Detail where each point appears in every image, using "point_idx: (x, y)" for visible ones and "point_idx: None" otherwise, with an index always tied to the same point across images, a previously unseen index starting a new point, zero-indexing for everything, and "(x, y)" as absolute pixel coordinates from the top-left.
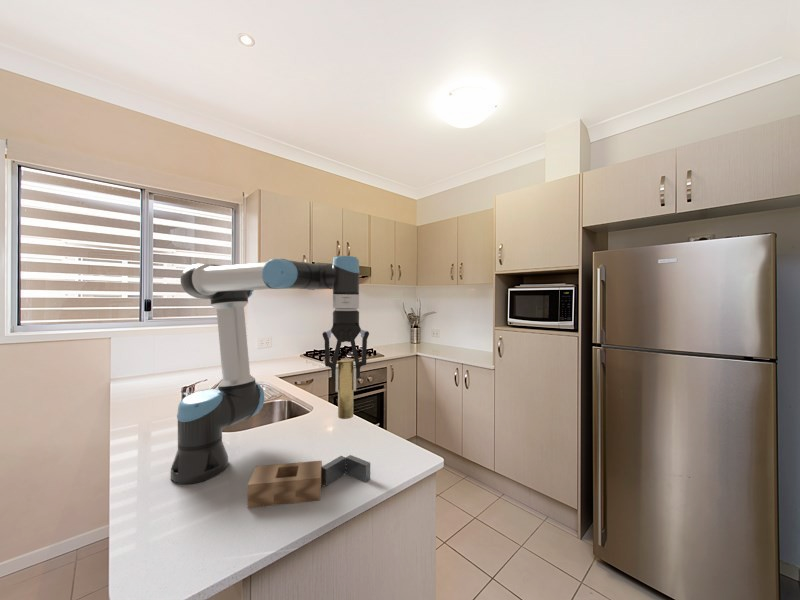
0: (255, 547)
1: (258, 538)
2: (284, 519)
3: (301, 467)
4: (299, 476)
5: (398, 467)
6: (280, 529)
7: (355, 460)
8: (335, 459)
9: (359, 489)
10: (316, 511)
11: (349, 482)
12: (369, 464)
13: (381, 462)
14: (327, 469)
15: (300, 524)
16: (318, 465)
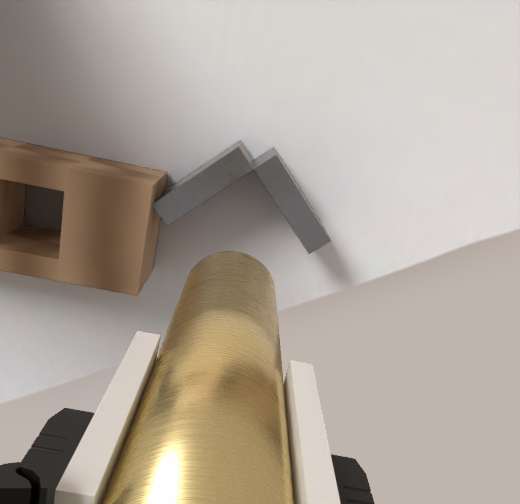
0: (3, 369)
1: (4, 346)
2: (58, 306)
3: (74, 208)
4: (69, 263)
5: (444, 185)
6: (52, 336)
7: (283, 205)
8: (211, 169)
9: (274, 257)
10: (140, 305)
11: (254, 210)
12: (325, 242)
13: (403, 128)
14: (173, 221)
15: (98, 336)
16: (137, 216)
